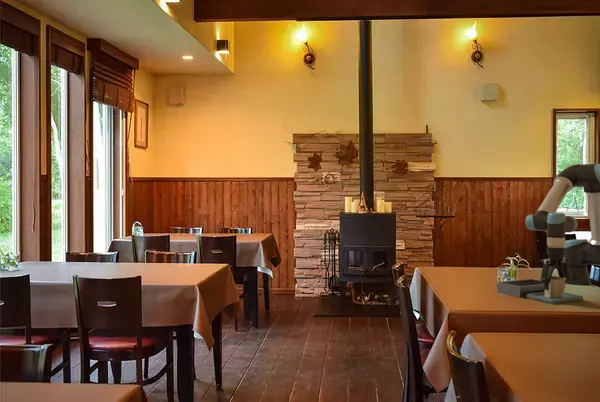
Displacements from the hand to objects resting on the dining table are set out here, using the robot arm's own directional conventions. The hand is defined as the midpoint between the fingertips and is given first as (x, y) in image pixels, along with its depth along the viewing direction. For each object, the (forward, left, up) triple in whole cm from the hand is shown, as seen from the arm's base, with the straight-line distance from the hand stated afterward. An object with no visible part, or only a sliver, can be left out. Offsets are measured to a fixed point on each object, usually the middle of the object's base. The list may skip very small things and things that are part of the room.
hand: (554, 295), depth 261 cm
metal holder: (0, -16, -2) cm, 17 cm away
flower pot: (0, 0, -1) cm, 1 cm away
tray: (0, 0, -2) cm, 2 cm away
